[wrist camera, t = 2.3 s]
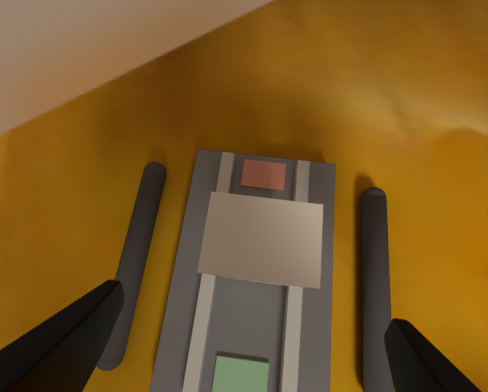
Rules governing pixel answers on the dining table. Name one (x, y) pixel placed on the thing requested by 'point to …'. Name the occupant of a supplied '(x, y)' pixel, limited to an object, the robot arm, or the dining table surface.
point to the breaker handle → (262, 240)
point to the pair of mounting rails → (373, 277)
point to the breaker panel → (247, 293)
